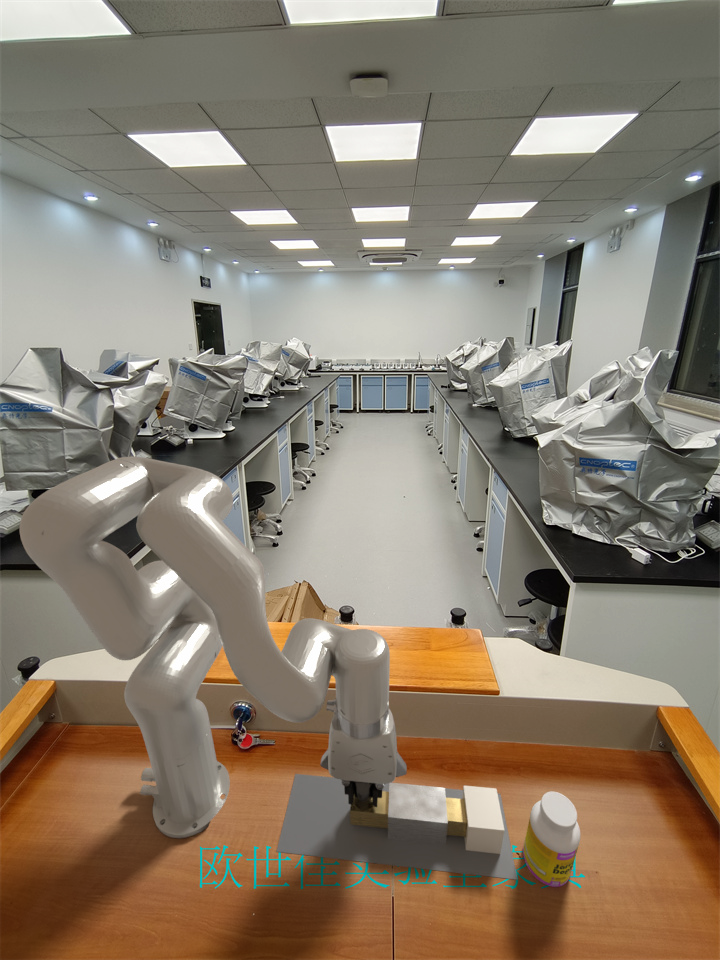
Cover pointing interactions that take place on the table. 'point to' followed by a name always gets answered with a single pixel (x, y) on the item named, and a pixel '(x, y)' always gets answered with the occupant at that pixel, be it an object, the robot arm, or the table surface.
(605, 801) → the table surface
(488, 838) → the cream rectangular block
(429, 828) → the sleeve
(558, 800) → the supplement bottle
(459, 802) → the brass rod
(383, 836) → the base board
